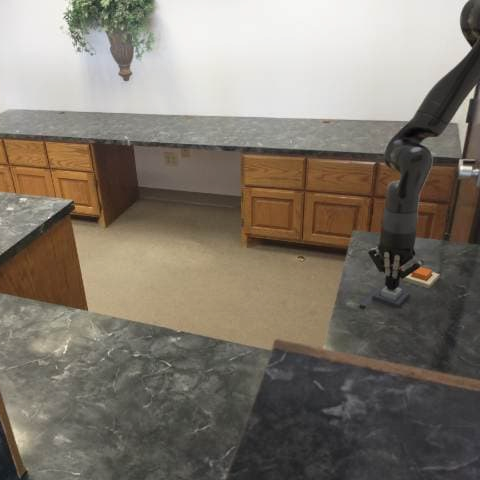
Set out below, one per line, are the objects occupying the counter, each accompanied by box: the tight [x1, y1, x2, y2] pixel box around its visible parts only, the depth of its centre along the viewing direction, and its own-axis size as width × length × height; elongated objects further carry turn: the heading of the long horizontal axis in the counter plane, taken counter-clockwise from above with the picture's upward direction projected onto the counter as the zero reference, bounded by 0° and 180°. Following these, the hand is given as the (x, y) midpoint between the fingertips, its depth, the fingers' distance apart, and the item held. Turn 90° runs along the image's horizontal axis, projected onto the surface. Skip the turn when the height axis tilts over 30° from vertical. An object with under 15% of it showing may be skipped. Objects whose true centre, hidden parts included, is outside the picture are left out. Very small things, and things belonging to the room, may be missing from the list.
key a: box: [412, 266, 433, 281], centre depth 133 cm, size 4×4×2 cm
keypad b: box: [359, 283, 411, 310], centre depth 128 cm, size 12×10×3 cm
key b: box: [381, 286, 403, 301], centre depth 127 cm, size 4×4×2 cm
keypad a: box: [402, 271, 440, 289], centre depth 134 cm, size 12×10×3 cm
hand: (391, 288), depth 126 cm, fingers closed
